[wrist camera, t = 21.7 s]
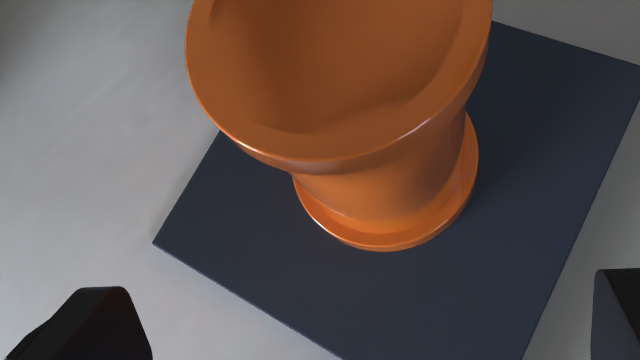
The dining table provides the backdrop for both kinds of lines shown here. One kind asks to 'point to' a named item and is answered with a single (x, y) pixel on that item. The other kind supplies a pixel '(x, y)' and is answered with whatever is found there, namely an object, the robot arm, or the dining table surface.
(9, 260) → the dining table surface
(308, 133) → the spool
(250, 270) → the mat
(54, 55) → the dining table surface
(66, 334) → the robot arm
